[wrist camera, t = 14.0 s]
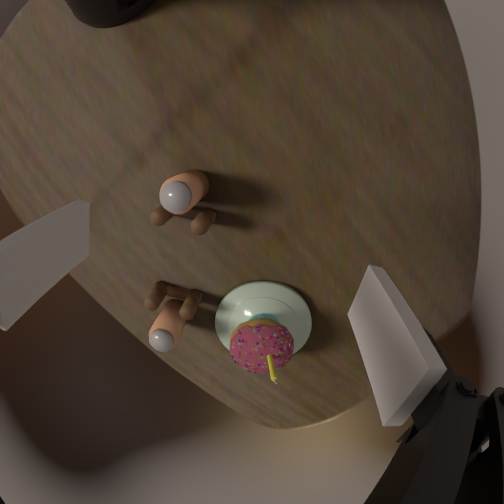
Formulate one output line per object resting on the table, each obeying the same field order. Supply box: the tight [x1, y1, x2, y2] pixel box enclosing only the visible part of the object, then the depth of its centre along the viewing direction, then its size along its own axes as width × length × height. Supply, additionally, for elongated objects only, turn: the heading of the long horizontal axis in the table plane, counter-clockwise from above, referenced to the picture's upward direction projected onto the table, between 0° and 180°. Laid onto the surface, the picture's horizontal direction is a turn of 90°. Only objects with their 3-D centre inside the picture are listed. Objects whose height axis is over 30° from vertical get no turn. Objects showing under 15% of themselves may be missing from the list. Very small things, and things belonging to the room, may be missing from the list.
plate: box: [215, 280, 312, 354], centre depth 43 cm, size 14×14×1 cm
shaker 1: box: [160, 170, 209, 214], centre depth 33 cm, size 4×4×8 cm
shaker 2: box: [149, 299, 187, 352], centre depth 40 cm, size 4×4×8 cm
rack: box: [144, 205, 216, 320], centre depth 38 cm, size 7×14×5 cm, turn 168°
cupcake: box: [229, 313, 294, 384], centre depth 36 cm, size 9×8×12 cm
